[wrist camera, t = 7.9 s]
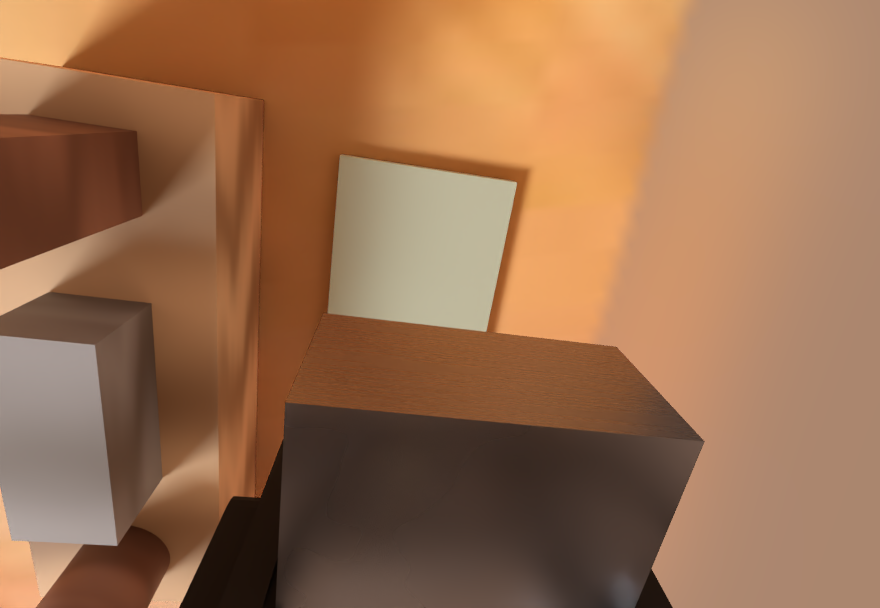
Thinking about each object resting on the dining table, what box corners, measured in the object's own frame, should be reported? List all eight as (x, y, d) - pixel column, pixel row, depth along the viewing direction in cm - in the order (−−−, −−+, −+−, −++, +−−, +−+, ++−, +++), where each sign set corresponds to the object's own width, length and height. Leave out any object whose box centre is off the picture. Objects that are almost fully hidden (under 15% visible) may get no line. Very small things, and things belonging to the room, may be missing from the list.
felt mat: (341, 154, 19) (339, 155, 18) (514, 180, 20) (517, 182, 19) (322, 394, 23) (320, 401, 22) (467, 407, 23) (468, 415, 23)
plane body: (60, 66, 17) (-514, -20, 6) (263, 99, 18) (58, 73, 7) (110, 503, 24) (-122, 810, 13) (254, 512, 25) (143, 807, 14)
